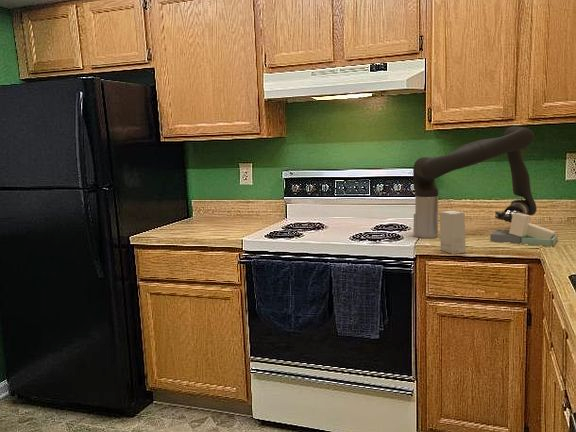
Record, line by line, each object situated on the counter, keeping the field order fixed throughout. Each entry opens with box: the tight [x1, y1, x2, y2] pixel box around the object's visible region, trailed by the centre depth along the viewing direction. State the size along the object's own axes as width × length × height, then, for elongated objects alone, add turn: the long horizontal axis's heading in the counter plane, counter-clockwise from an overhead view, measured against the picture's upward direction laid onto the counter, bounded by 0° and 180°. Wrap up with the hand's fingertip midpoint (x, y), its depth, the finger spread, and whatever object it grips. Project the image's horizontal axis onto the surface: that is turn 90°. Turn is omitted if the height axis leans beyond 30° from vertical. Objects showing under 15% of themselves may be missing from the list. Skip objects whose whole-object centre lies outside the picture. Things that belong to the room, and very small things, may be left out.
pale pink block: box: [509, 213, 531, 237], centre depth 202 cm, size 5×4×8 cm
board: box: [489, 229, 521, 244], centre depth 208 cm, size 11×11×3 cm
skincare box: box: [439, 210, 467, 255], centre depth 191 cm, size 8×6×15 cm
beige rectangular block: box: [527, 222, 556, 240], centre depth 203 cm, size 4×4×10 cm
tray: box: [520, 233, 559, 248], centre depth 202 cm, size 11×13×2 cm
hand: (506, 218), depth 203 cm, fingers closed
